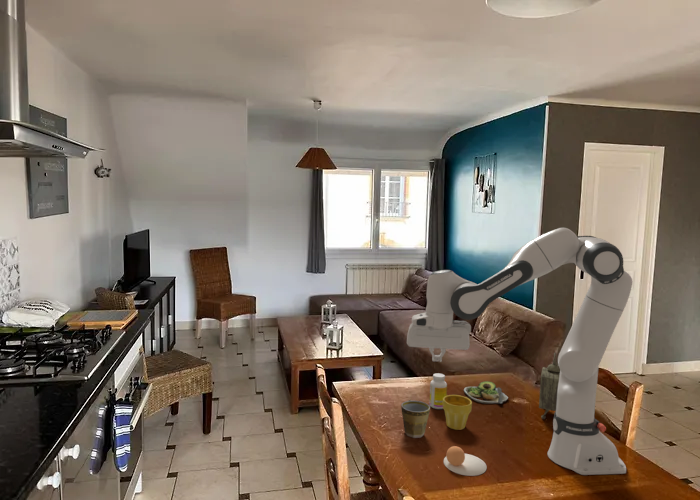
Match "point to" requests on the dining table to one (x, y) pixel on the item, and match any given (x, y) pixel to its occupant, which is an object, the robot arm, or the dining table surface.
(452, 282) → the robot arm
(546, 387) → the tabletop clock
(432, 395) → the supplement bottle
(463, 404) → the plant pot
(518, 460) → the dining table surface
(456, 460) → the ball
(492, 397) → the avocado toast plate
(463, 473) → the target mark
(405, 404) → the ceramic cup
